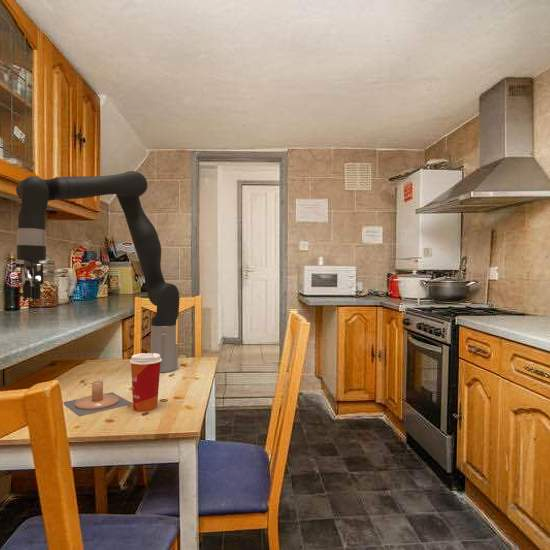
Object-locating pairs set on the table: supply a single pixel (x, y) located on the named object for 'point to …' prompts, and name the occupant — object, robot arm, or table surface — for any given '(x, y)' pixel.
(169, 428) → the table surface
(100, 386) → the lid
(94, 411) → the mat
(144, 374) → the coffee cup
